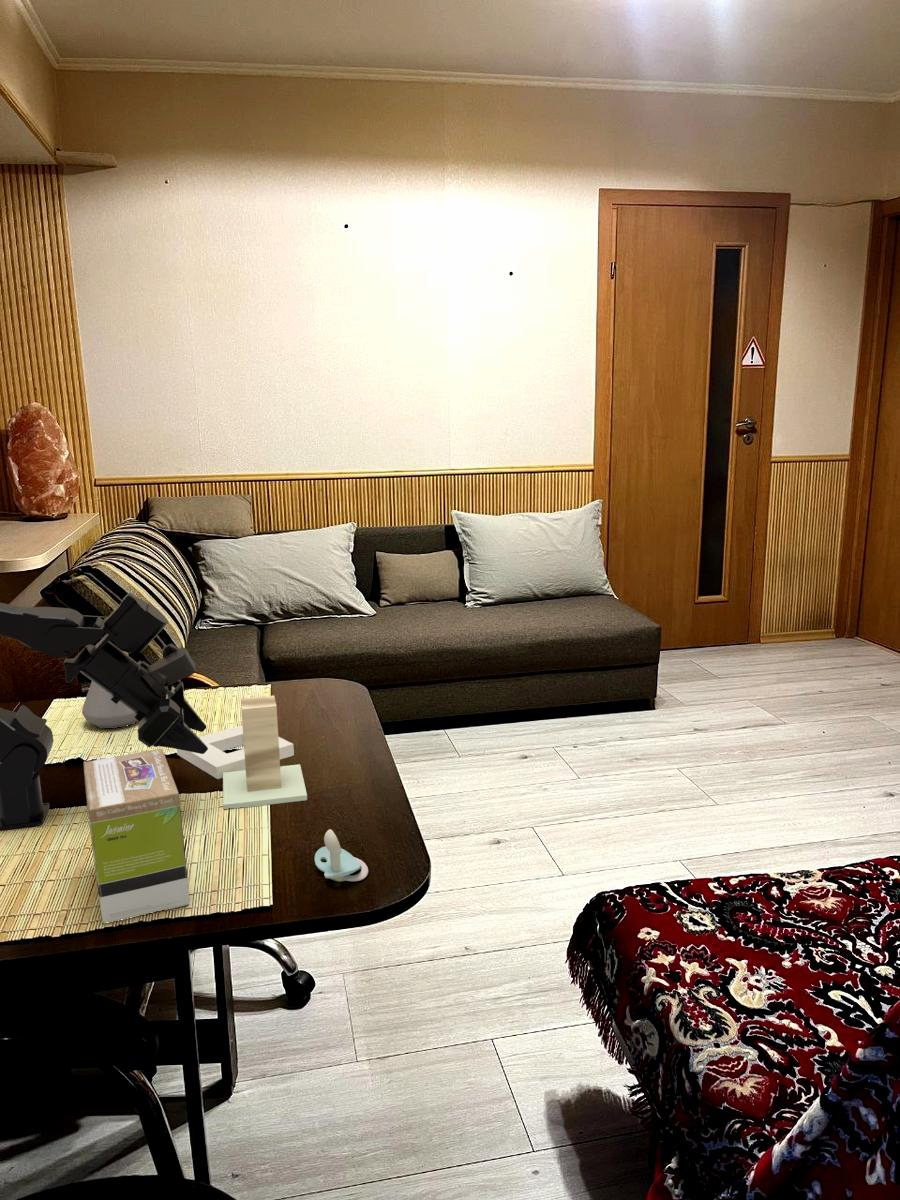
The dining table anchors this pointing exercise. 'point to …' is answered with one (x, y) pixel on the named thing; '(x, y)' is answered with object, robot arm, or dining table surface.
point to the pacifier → (338, 861)
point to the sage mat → (239, 797)
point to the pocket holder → (222, 762)
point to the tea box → (136, 835)
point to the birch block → (261, 743)
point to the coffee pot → (106, 709)
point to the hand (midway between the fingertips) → (205, 740)
